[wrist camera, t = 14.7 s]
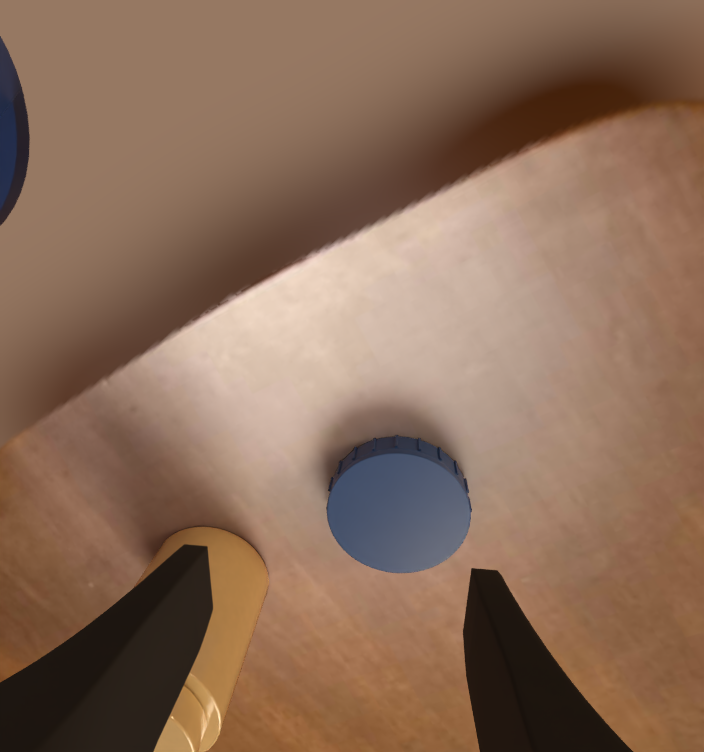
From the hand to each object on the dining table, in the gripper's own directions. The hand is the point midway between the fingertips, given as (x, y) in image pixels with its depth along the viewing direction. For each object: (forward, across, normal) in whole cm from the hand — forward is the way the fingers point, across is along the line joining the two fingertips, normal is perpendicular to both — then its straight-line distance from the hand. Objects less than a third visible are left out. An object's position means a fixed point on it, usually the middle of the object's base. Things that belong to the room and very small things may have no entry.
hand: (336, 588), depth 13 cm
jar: (+9, +7, +9) cm, 15 cm away
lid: (+8, -2, +3) cm, 9 cm away
